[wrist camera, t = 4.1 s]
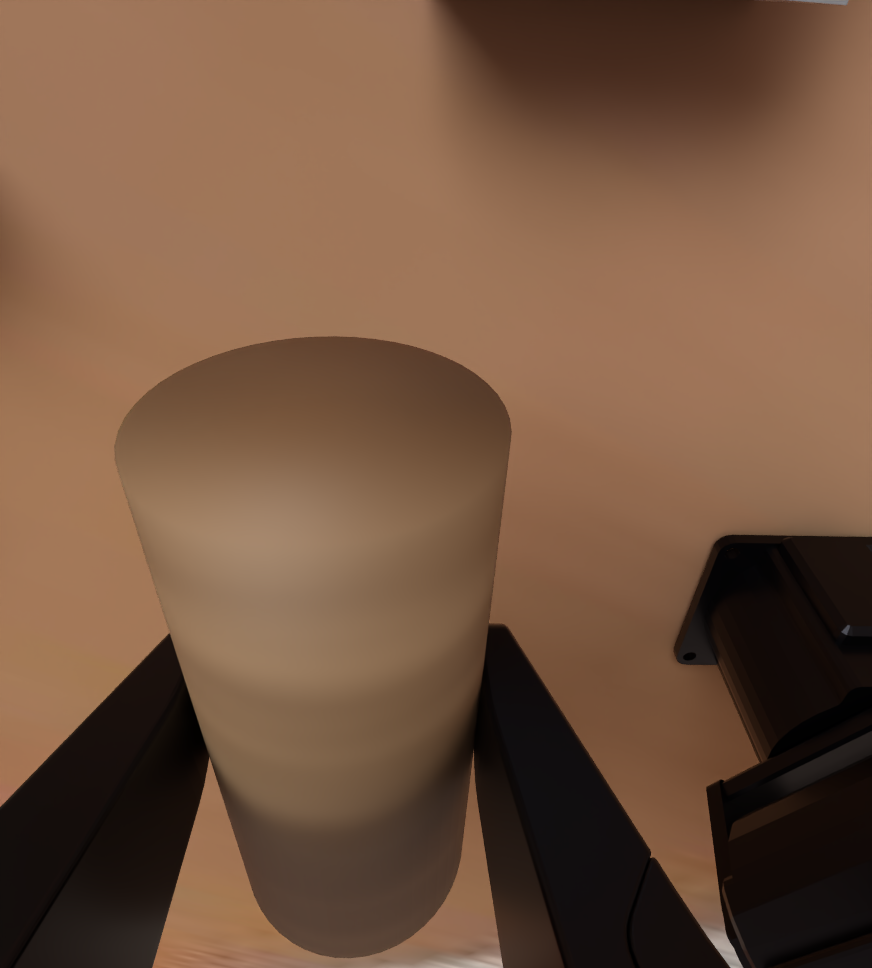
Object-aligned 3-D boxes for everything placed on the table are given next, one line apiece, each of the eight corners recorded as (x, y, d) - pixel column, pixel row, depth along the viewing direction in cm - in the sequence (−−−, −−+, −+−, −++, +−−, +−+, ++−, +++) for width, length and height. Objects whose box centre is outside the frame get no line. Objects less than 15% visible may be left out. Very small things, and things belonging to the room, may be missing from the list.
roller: (467, 746, 12) (455, 971, 9) (280, 728, 12) (214, 944, 10) (510, 347, 7) (513, 566, 5) (203, 326, 8) (26, 527, 5)
